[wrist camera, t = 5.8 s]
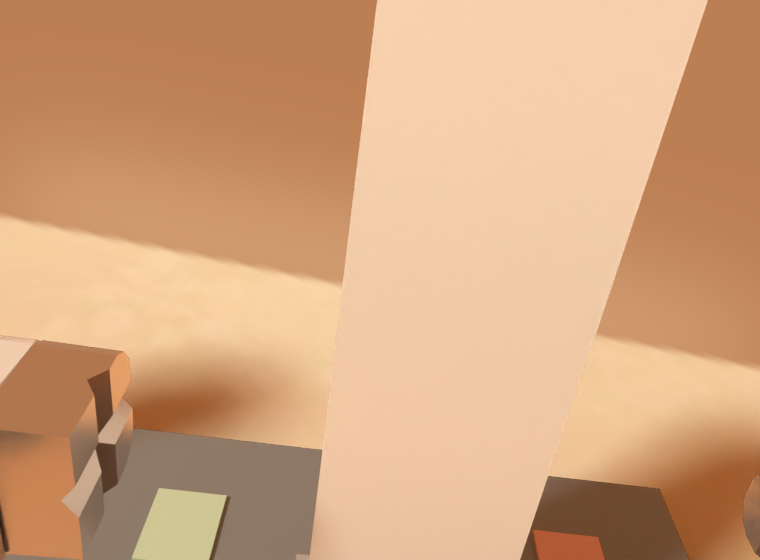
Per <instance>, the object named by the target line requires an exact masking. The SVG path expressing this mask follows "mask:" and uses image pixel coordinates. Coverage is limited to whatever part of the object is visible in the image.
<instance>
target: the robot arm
mask: <svg viewBox="0 0 760 560" xmlns="http://www.w3.org/2000/svg"><path fill="white" fill-rule="evenodd" d="M130 381H131V374H130V363H129V357H128V356H127V355H126V353H125V352H124V351H117V350H110V349H103V348H95V347H88V346H81V345H73V344H66V343H59V342H52V341H44V340H42V341H39V340H35V339H27V338H19V337H11V336H2V335H0V560H4V559H5V558H6V556H5V554H16V555H29V556H42V557H56V558H69V559H82V560H83V559H84V557H85V554H86V552H87V550H88V548H89V546H90V544H91V542H92V539H93V537H94V535H95V533H96V531H97V529H98V526H99V524H100V522H101V520H102V518H103V516H104V514H105V512H104V499H103V494H104V493H105V492H107V491H108V490H110V489H111V488H113V487H115V486H116V485H118V483H119V480H120V478H121V476H122V473H123V471H124V469H125V466H126V463H127V459H128V455H129V451H130V447H131V443H132V433H133V408H132V407H131V406H130V405H129V404H128V403H127V401H126V400H125V399H124V398H123V397H122V396H123V395H124V393H125V391H126V389H127V387H128V385H129V383H130ZM743 522H744V527H745V531H746V535H747V538H748V540H749V542H750V544H751V546H752V548H753V550H754V552H755V553H756V554H757V555H758V556H759V557H760V474H759V475H757V476H756V477H754V478H753V479H752V481H751V484H750V486H749V488H748V490H747V492H746V494H745V497H744V504H743Z"/></svg>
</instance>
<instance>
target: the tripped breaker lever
mask: <svg viewBox="0 0 760 560" xmlns="http://www.w3.org/2000/svg"><path fill="white" fill-rule="evenodd" d="M707 1H708V0H377V7H376V15H375V23H374V32H373V40H372V48H371V57H370V65H369V73H368V81H367V89H366V98H365V105H364V114H363V122H362V130H361V139H360V146H359V155H358V163H357V171H356V180H355V188H354V197H353V204H352V212H351V220H350V229H349V237H348V246H347V253H346V261H345V270H344V279H343V286H342V294H341V302H340V311H339V319H338V327H337V335H336V343H335V352H334V360H333V368H332V376H331V384H330V393H329V401H328V409H327V417H326V425H325V434H324V442H323V450H322V458H321V467H320V475H319V483H318V491H317V499H316V508H315V516H314V524H313V532H312V540H311V549H310V555H302V554H297V555H296V560H520V558H521V555H522V552H523V549H524V546H525V543H526V540H527V537H528V534H529V532H530V529H531V526H532V523H533V520H534V517H535V514H536V511H537V508H538V505H539V502H540V499H541V496H542V493H543V490H544V487H545V484H546V481H547V478H548V475H549V472H550V469H551V466H552V463H553V460H554V457H555V454H556V451H557V448H558V445H559V442H560V439H561V436H562V433H563V430H564V427H565V424H566V421H567V418H568V415H569V412H570V409H571V406H572V403H573V400H574V397H575V394H576V391H577V388H578V385H579V382H580V380H581V377H582V374H583V371H584V368H585V365H586V362H587V359H588V356H589V353H590V350H591V347H592V344H593V341H594V338H595V335H596V332H597V329H598V326H599V323H600V320H601V317H602V314H603V311H604V308H605V305H606V302H607V299H608V296H609V293H610V290H611V287H612V284H613V281H614V278H615V275H616V272H617V269H618V266H619V263H620V260H621V257H622V254H623V251H624V248H625V245H626V242H627V239H628V236H629V233H630V230H631V228H632V224H633V221H634V218H635V216H636V212H637V209H638V206H639V204H640V201H641V198H642V195H643V192H644V189H645V186H646V183H647V180H648V177H649V174H650V171H651V168H652V165H653V162H654V159H655V156H656V153H657V150H658V147H659V144H660V141H661V138H662V135H663V132H664V129H665V126H666V123H667V120H668V117H669V114H670V111H671V108H672V105H673V102H674V99H675V96H676V93H677V90H678V87H679V84H680V81H681V79H682V76H683V73H684V69H685V67H686V64H687V61H688V57H689V54H690V52H691V49H692V46H693V43H694V40H695V36H696V34H697V31H698V28H699V24H700V22H701V19H702V16H703V13H704V10H705V7H706V4H707Z"/></svg>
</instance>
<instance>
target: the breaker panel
mask: <svg viewBox="0 0 760 560" xmlns="http://www.w3.org/2000/svg"><path fill="white" fill-rule="evenodd" d="M321 458H322V450H318V449H309V448H301V447H292V446H283V445H275V444H266V443H257V442H249V441H240V440H231V439H223V438H214V437H205V436H197V435H188V434H179V433H171V432H162V431H153V430H144V429H136V428H133V433H132V443H131V447H130V451H129V455H128V459H127V463H126V466H125V469H124V471H123V473H122V476H121V478H120V480H119V483H118V485H116V486H115V487H113V488H111V489H110V490H108V491H107V492H105V493H104V494H103V499H104V512H105V514H104V516H103V518H102V520H101V522H100V524H99V526H98V529H97V531H96V533H95V535H94V537H93V539H92V542H91V544H90V546H89V548H88V550H87V552H86V554H85V557H84V559H83V560H296V555H297V554H302V555H310V549H311V540H312V532H313V524H314V516H315V508H316V499H317V491H318V483H319V475H320V467H321ZM5 556H6V558H5V559H4V560H82V559H69V558H56V557H42V556H29V555H16V554H5ZM520 560H689V558H688V556H687V554H686V551H685V549H684V546H683V544H682V542H681V539H680V537H679V534H678V532H677V530H676V527H675V525H674V523H673V520H672V518H671V515H670V513H669V511H668V508H667V506H666V503H665V501H664V499H663V496H662V494H661V492H660V489H656V488H648V487H639V486H630V485H622V484H613V483H604V482H596V481H587V480H578V479H570V478H561V477H552V476H548V478H547V481H546V484H545V487H544V490H543V493H542V496H541V499H540V502H539V505H538V508H537V511H536V514H535V517H534V520H533V523H532V526H531V529H530V532H529V534H528V537H527V540H526V543H525V546H524V549H523V552H522V555H521V558H520Z"/></svg>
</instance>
